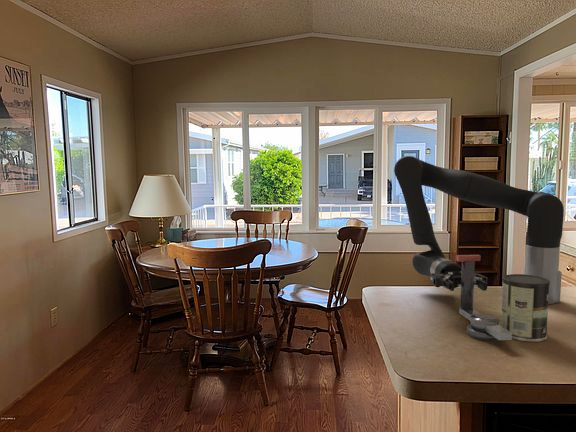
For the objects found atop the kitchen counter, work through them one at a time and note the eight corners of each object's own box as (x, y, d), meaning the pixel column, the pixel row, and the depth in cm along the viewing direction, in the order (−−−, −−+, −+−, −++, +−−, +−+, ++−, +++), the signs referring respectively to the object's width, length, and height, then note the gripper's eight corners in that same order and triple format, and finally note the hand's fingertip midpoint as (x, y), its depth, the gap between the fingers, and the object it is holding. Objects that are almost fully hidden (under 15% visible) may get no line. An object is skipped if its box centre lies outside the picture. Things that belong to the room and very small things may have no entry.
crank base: (508, 340, 106) (509, 334, 106) (477, 341, 105) (477, 335, 105) (490, 328, 114) (490, 322, 114) (460, 329, 113) (460, 323, 113)
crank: (518, 341, 101) (522, 270, 99) (492, 342, 100) (495, 271, 99) (474, 313, 120) (476, 254, 119) (452, 314, 120) (453, 254, 118)
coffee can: (538, 328, 114) (541, 274, 113) (553, 343, 104) (557, 284, 103) (495, 325, 116) (497, 272, 115) (506, 340, 106) (509, 283, 105)
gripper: (423, 260, 132) (442, 273, 116) (470, 260, 132) (496, 272, 116) (422, 285, 133) (441, 301, 117) (469, 284, 133) (495, 300, 117)
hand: (469, 287), depth 116 cm, fingers open, 8 cm apart
